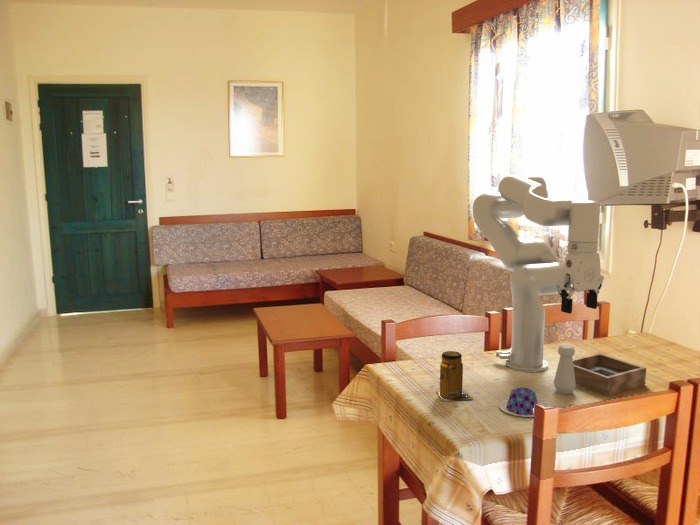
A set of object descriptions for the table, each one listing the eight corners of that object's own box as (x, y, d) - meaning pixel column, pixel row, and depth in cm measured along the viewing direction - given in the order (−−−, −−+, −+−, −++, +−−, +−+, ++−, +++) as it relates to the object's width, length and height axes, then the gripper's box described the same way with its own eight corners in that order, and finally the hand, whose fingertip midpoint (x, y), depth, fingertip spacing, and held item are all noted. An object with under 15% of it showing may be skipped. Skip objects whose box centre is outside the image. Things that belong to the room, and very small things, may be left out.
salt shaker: (576, 396, 180) (579, 350, 178) (554, 395, 181) (556, 348, 179) (573, 388, 186) (576, 343, 184) (552, 387, 187) (554, 342, 185)
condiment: (435, 391, 184) (436, 350, 182) (465, 390, 185) (466, 348, 183) (442, 401, 177) (442, 358, 175) (473, 400, 178) (474, 357, 176)
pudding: (492, 413, 170) (492, 393, 169) (507, 398, 180) (508, 379, 179) (539, 423, 164) (540, 402, 163) (552, 407, 174) (553, 387, 173)
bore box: (607, 395, 181) (608, 378, 180) (561, 378, 194) (561, 361, 193) (645, 384, 189) (646, 367, 188) (598, 369, 202) (599, 353, 201)
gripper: (571, 252, 170) (567, 317, 173) (615, 246, 179) (611, 308, 182) (548, 248, 176) (545, 311, 179) (593, 243, 185) (589, 303, 188)
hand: (578, 310), depth 180 cm, fingers open, 9 cm apart
